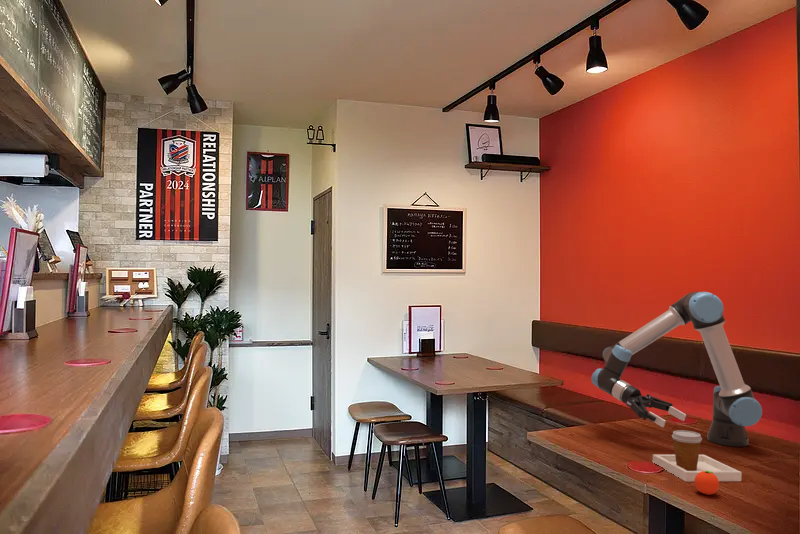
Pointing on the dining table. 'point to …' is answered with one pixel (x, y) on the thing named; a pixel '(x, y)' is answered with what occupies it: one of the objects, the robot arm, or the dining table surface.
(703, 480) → the clementine
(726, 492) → the dining table surface
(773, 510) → the dining table surface
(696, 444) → the disposable coffee cup
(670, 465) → the cream tray
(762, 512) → the dining table surface
